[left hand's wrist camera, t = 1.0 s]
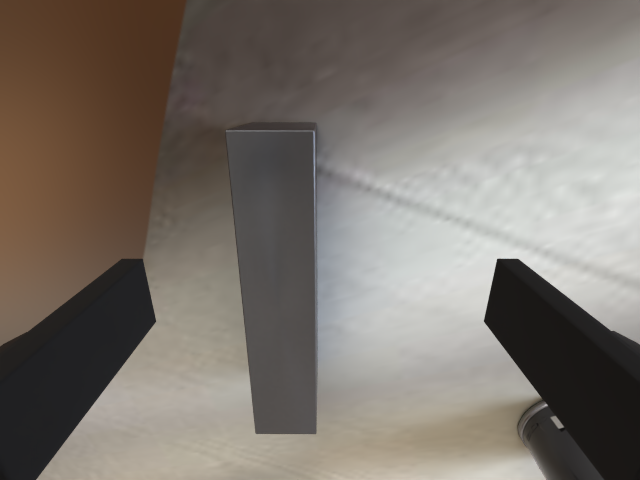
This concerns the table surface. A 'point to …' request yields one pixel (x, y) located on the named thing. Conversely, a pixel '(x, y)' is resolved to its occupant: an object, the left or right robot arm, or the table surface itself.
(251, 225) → the box
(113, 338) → the left robot arm
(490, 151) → the table surface
